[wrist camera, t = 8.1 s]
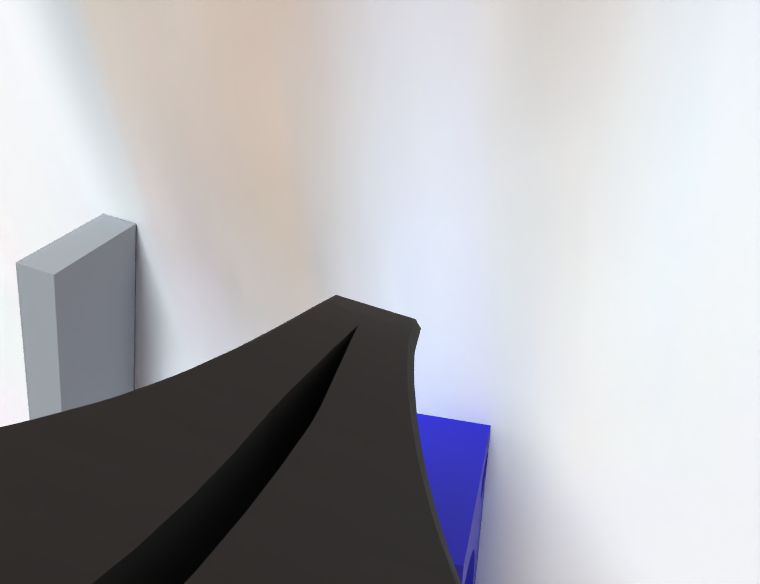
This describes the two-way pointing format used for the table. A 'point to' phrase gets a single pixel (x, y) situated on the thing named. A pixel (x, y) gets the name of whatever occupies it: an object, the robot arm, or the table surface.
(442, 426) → the cable clip
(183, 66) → the table surface
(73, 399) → the corner bracket
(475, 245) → the table surface
